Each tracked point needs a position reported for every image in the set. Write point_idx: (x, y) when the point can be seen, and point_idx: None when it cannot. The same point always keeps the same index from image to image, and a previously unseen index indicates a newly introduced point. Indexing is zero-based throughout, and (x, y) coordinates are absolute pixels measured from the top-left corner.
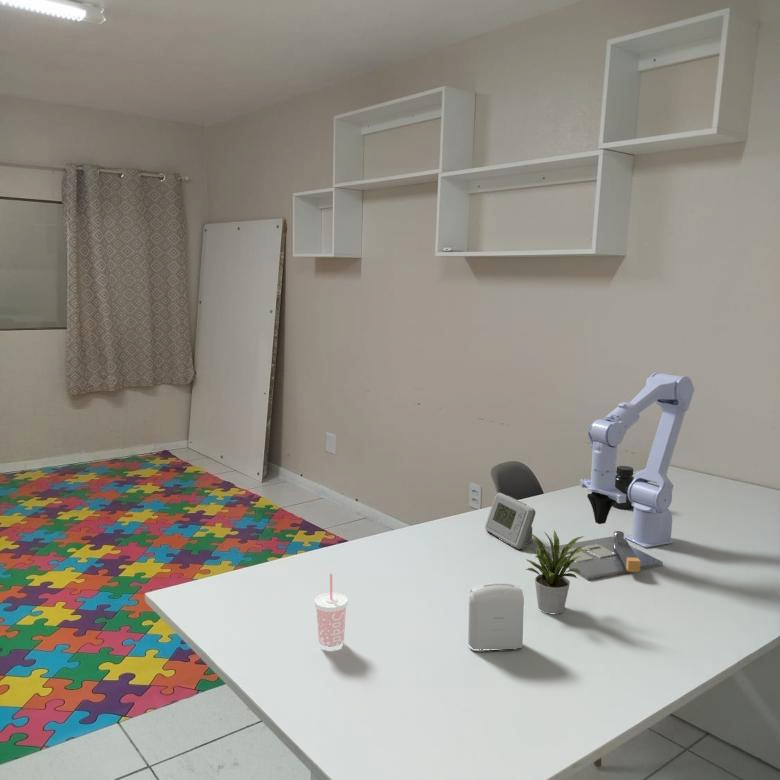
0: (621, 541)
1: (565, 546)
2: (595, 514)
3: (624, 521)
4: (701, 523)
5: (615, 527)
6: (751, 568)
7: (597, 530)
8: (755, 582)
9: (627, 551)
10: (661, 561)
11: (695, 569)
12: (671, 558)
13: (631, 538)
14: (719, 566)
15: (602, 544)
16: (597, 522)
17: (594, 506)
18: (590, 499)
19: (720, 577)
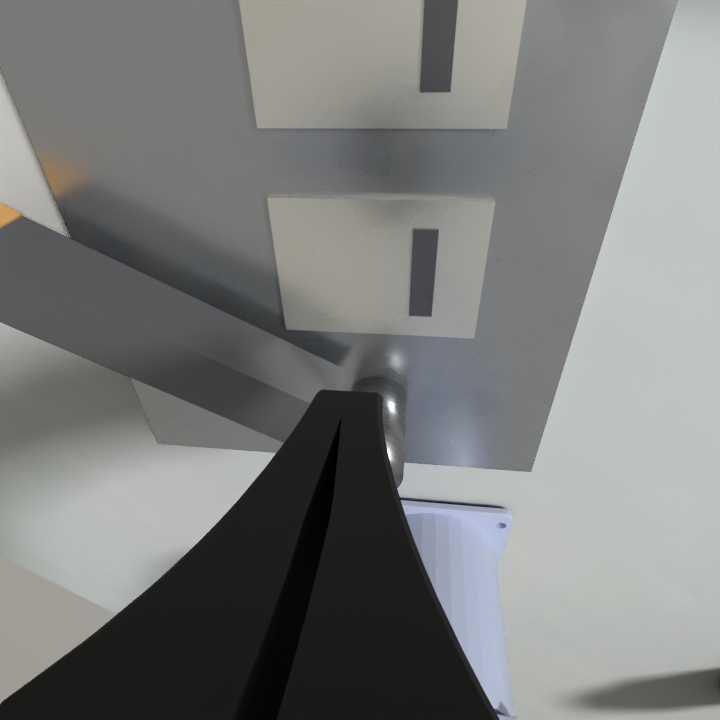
0: (276, 411)
1: (604, 77)
2: (346, 461)
3: (653, 607)
4: None
5: (634, 553)
6: (120, 588)
7: (677, 484)
8: (13, 539)
9: (93, 330)
10: (162, 442)
11: (121, 490)
12: (237, 497)
13: (467, 517)
14: (142, 550)
15: (466, 364)
16: (336, 396)
17: (330, 569)
18: (401, 711)
19: (47, 501)
